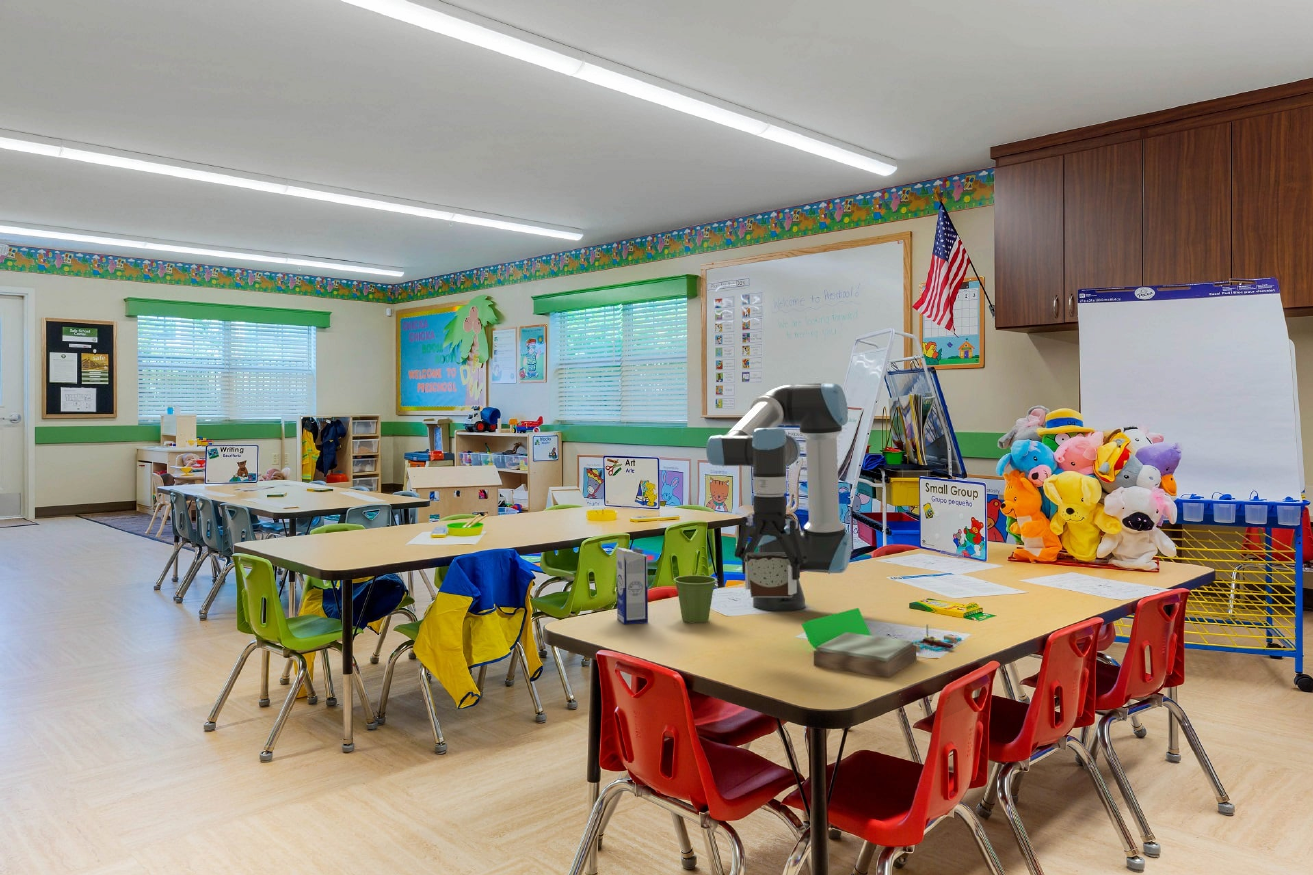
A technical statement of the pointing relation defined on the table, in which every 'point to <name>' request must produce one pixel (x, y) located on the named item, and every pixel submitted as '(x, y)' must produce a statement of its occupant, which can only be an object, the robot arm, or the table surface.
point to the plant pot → (695, 597)
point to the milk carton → (632, 586)
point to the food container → (768, 574)
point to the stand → (865, 654)
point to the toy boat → (935, 642)
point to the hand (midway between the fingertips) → (770, 591)
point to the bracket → (834, 626)
